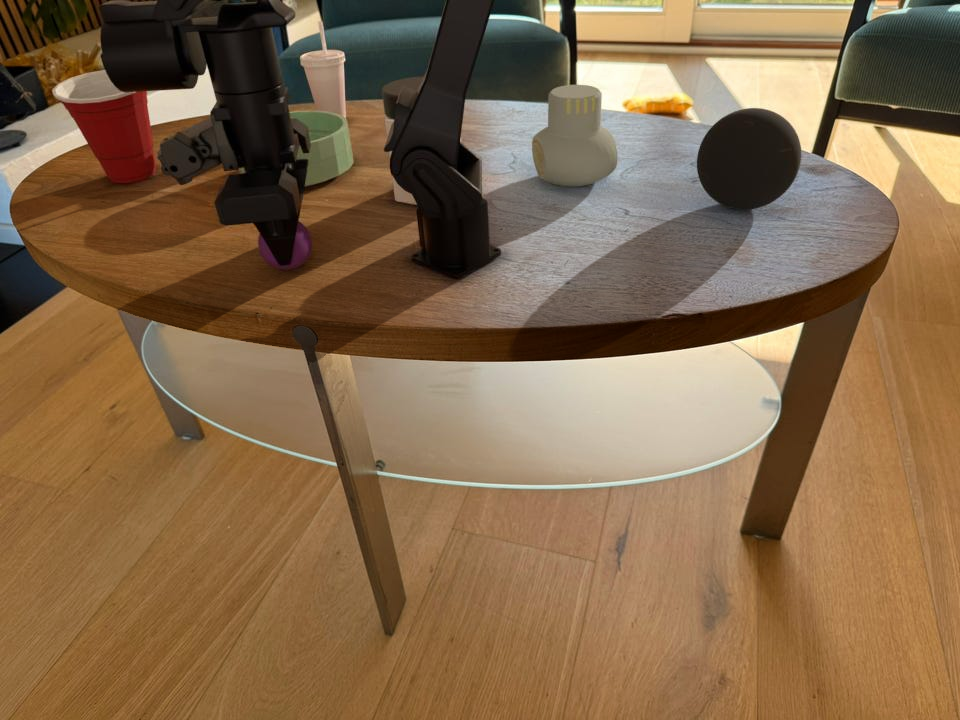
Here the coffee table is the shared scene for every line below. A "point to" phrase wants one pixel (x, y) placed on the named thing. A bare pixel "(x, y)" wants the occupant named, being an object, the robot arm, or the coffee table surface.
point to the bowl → (324, 145)
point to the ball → (299, 252)
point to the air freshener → (574, 139)
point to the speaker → (749, 158)
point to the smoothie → (326, 77)
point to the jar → (389, 101)
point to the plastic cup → (111, 124)
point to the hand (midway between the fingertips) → (287, 252)
